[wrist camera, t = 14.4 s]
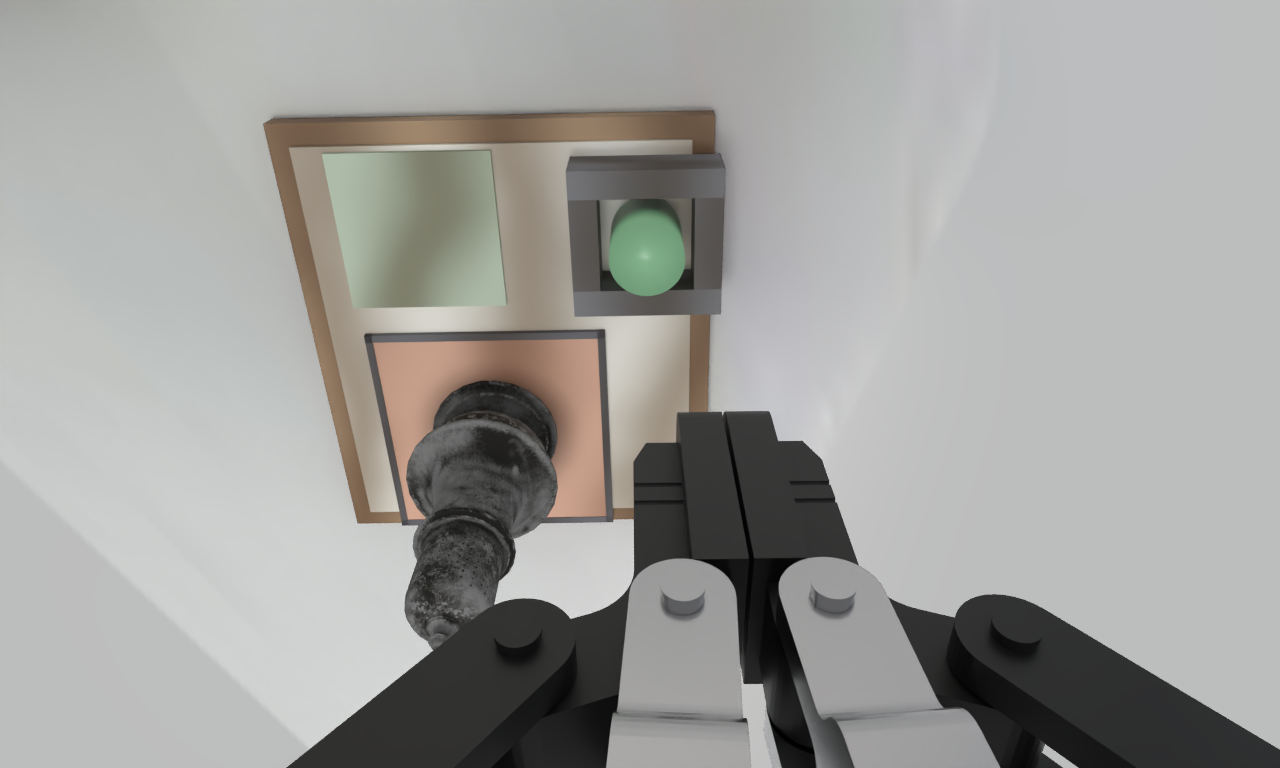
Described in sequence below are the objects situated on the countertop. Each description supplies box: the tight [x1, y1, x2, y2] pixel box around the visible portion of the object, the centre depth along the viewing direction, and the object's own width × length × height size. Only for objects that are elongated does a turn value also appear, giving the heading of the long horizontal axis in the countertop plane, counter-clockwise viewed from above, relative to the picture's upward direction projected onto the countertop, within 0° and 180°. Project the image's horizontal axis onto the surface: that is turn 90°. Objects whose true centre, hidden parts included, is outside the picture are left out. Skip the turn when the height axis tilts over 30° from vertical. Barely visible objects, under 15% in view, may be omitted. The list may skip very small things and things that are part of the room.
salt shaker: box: [405, 380, 558, 650], centre depth 30 cm, size 6×6×12 cm
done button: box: [609, 199, 685, 296], centre depth 29 cm, size 3×3×3 cm
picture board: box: [263, 111, 725, 525], centre depth 33 cm, size 16×18×3 cm
